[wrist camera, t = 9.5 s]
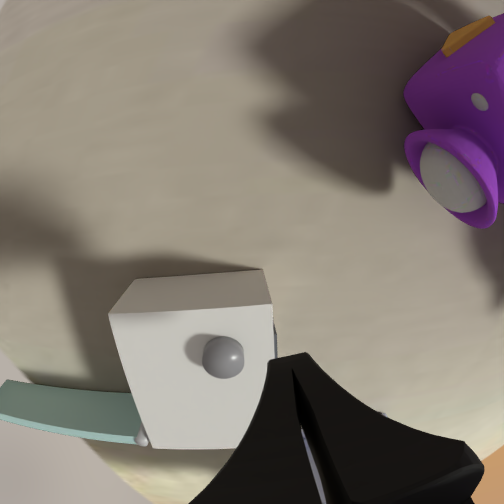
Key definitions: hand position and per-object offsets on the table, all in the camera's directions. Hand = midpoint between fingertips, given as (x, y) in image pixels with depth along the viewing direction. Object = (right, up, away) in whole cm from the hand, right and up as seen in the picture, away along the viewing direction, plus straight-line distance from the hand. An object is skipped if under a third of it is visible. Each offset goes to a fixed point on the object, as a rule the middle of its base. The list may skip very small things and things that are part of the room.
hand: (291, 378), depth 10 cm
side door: (-16, -7, +11) cm, 21 cm away
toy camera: (+13, +13, +8) cm, 20 cm away
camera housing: (-4, -2, +10) cm, 11 cm away
